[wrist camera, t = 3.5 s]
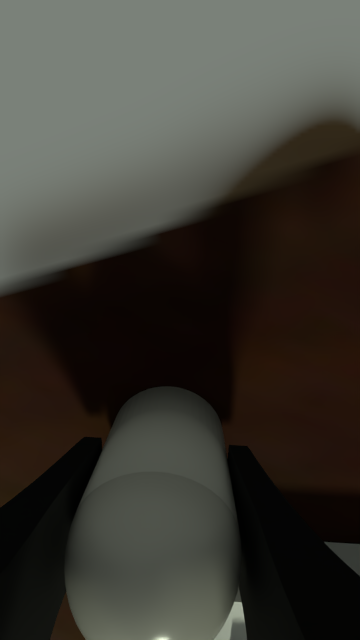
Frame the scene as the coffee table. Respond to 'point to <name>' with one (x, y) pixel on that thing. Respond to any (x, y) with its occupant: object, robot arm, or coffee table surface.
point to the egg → (156, 526)
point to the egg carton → (234, 629)
